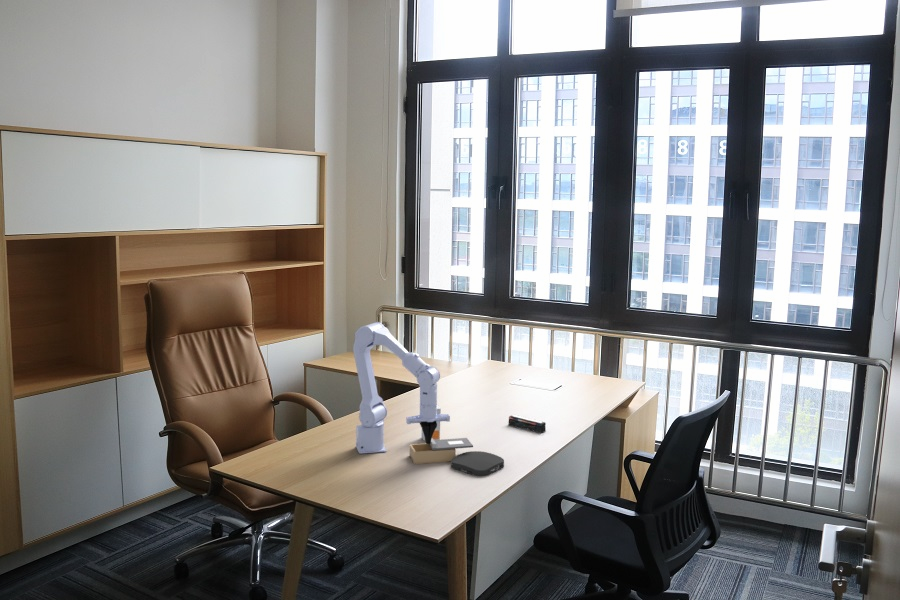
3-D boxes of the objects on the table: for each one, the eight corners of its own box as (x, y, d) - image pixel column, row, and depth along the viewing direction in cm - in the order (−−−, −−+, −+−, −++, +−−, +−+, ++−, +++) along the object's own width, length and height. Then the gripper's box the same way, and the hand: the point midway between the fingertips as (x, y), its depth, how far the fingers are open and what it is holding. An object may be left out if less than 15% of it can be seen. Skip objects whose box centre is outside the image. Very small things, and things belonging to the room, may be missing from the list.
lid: (432, 450, 256) (432, 444, 255) (427, 442, 263) (427, 436, 263) (473, 447, 259) (473, 441, 259) (466, 439, 267) (466, 433, 267)
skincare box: (424, 441, 277) (424, 409, 275) (421, 437, 281) (421, 406, 279) (440, 440, 278) (440, 408, 277) (437, 436, 282) (437, 404, 281)
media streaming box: (473, 455, 264) (473, 447, 264) (508, 466, 255) (508, 457, 255) (446, 467, 253) (446, 459, 253) (482, 479, 244) (482, 470, 244)
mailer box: (414, 464, 255) (414, 452, 254) (409, 455, 262) (409, 444, 262) (455, 460, 258) (455, 449, 258) (449, 452, 266) (449, 441, 265)
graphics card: (541, 439, 283) (541, 428, 282) (486, 425, 298) (486, 414, 298) (561, 430, 294) (562, 419, 293) (507, 416, 310) (507, 406, 309)
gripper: (409, 408, 251) (409, 448, 254) (452, 405, 255) (451, 445, 257) (405, 402, 258) (404, 441, 260) (447, 399, 262) (446, 438, 264)
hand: (427, 442), depth 259 cm, fingers closed
